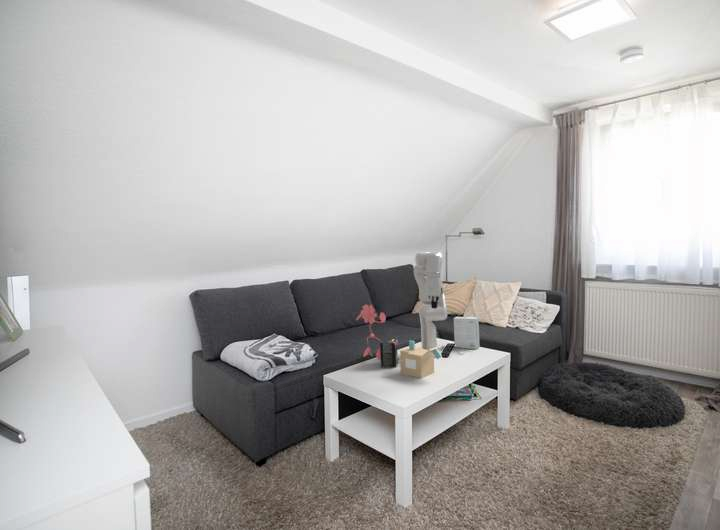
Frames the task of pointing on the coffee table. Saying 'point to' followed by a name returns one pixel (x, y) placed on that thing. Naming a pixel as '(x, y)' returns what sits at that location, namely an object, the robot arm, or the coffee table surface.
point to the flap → (434, 352)
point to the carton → (416, 361)
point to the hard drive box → (466, 332)
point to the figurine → (369, 317)
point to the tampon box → (388, 353)
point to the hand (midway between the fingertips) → (434, 308)
